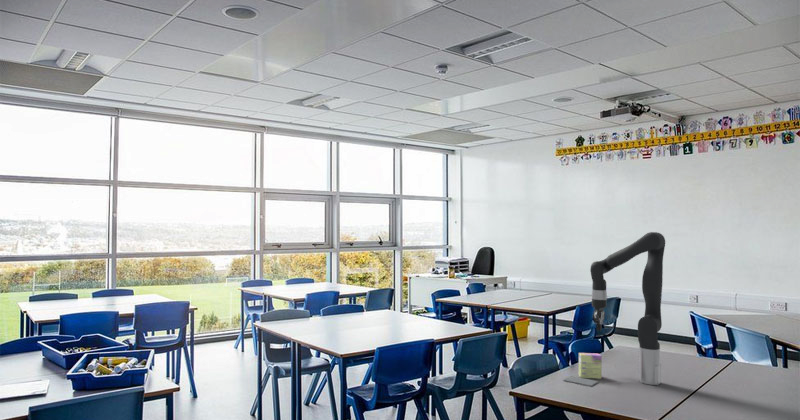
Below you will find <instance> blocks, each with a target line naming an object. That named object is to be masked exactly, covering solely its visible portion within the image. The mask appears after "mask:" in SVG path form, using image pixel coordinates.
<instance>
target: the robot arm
mask: <svg viewBox="0 0 800 420" xmlns="http://www.w3.org/2000/svg"><path fill="white" fill-rule="evenodd" d="M665 247H666V239H665V236H664V234H662V233H660V232H657V231H655V232H654V231H650V232H647V233H645V234H644V235H642V236H641V237H640V238H639V239H637V240H636V241H634V242H633V243H631V244H629V245H627V246H625V247H623V248H621V249H619V250H618V251H616V252H613V253H612V254H611V253H610V254H609V255H608V256H607V257H606V258H604V259H603V260H599V261H597V260H596V261H593V262H592V263H591V265H590V269H589V270H590V275H591V280H592V285H591V286H592V291H591V307H592V308H594V311H593V314H592V319H593V322H594V323H595V325H596V328H595V329H596V332H601V331H602V326H603V323H604V320H605V317H606V312H605V310H604V309H607V305H608V302H607V300H608V295H607V281H606V280H605V278H604V274H606V273H608V272H610V271H612V270H613V269H615V268H617V267H620V266H622V265H623V264H626V263H627V262H629V261H630V260H632V259H633V258H635V257H637V256H639V255H641V254H643V253H647V261H646V265H645V266H644V270H643V273H642V280H641V289H642V290H641V291H642V296H643V299H644V304H645V308H644V309H645V310H644V315H643V316H642V317H641V318H639V320H638V321H637V340H638V341H637V342H638V343H639V356H638V357H639V359H638V360H639V365H638V366H639V378H638V379H639V382H640V383H641V384H645V385H653V386H659V385H660V384H662V364H661V363H660V361H661V360H660V358H661V356H660V353H661V346H660V342H659V340H658V332H660V330H661V329H662V326H663V325H662V324H663V323H662V311H661V310H662V309H661V306H662V295H663V294H662V292H663V280H664V279H663V276H664V272H663V271H664V270H663V268H664V264H663V263H664V253H665Z"/></svg>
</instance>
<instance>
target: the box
mask: <svg viewBox="0 0 800 420" xmlns="http://www.w3.org/2000/svg"><path fill="white" fill-rule="evenodd" d="M602 358H603V356H602V354H600V353H594V352H593V353H591V352H578V376H579V377H580V378H585V379H598V380H601V379H602V370H603V369H602V368H603V367H602V362H603V361H602Z"/></svg>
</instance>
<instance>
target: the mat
mask: <svg viewBox="0 0 800 420" xmlns="http://www.w3.org/2000/svg"><path fill="white" fill-rule="evenodd" d="M563 382H567V383H572V384H576V385H581V386H586V387H590V388H591V387H593V386H596V385H597V384H598V383H599V382H600V381H598V380H594V379H591V378H581V377H580V376H579V377H578V376H575V375H574V376H573V375H570V376H568V377H566V378H564V379H563Z"/></svg>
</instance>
